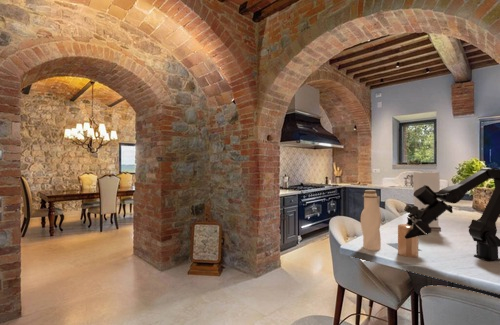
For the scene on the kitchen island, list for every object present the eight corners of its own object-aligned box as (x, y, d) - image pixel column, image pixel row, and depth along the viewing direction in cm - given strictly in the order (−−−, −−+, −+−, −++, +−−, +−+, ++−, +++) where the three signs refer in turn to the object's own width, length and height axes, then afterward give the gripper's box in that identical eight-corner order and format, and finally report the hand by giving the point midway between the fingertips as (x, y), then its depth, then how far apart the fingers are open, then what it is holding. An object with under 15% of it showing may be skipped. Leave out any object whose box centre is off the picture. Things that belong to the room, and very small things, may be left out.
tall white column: (440, 231, 154) (439, 172, 154) (420, 229, 157) (418, 172, 157) (433, 226, 164) (432, 171, 165) (414, 225, 168) (413, 171, 168)
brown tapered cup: (422, 257, 112) (422, 228, 111) (405, 258, 111) (405, 229, 111) (410, 250, 119) (410, 223, 119) (394, 251, 119) (394, 224, 118)
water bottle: (365, 243, 132) (363, 189, 133) (384, 246, 127) (382, 189, 127) (359, 248, 125) (357, 190, 125) (379, 252, 119) (377, 191, 119)
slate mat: (422, 251, 119) (422, 250, 119) (401, 252, 119) (401, 251, 119) (405, 243, 131) (405, 242, 131) (386, 244, 131) (386, 243, 131)
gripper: (412, 195, 123) (386, 217, 127) (421, 201, 105) (391, 226, 110) (432, 213, 120) (405, 235, 124) (445, 221, 102) (413, 246, 106)
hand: (403, 235), depth 116 cm, fingers open, 9 cm apart
